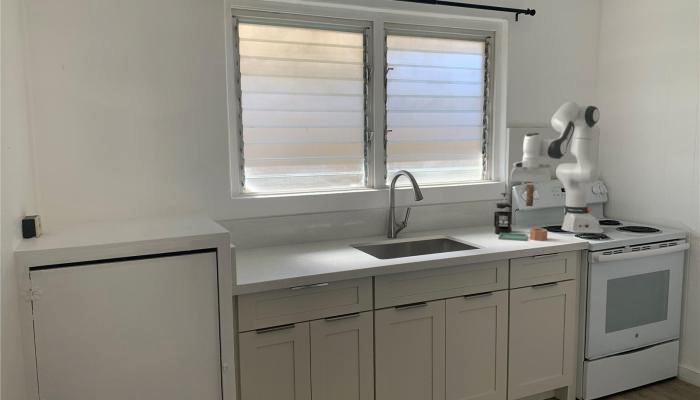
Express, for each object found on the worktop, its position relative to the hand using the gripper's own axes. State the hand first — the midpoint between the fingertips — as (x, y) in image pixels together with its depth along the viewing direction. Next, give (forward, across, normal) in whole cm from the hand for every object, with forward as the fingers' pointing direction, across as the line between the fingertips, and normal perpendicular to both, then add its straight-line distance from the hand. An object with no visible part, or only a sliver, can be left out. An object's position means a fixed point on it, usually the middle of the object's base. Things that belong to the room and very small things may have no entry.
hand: (529, 190), depth 280 cm
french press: (+27, +14, -17) cm, 35 cm away
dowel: (+8, 0, 0) cm, 8 cm away
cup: (+27, -5, -1) cm, 27 cm away
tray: (+27, +8, -1) cm, 28 cm away
